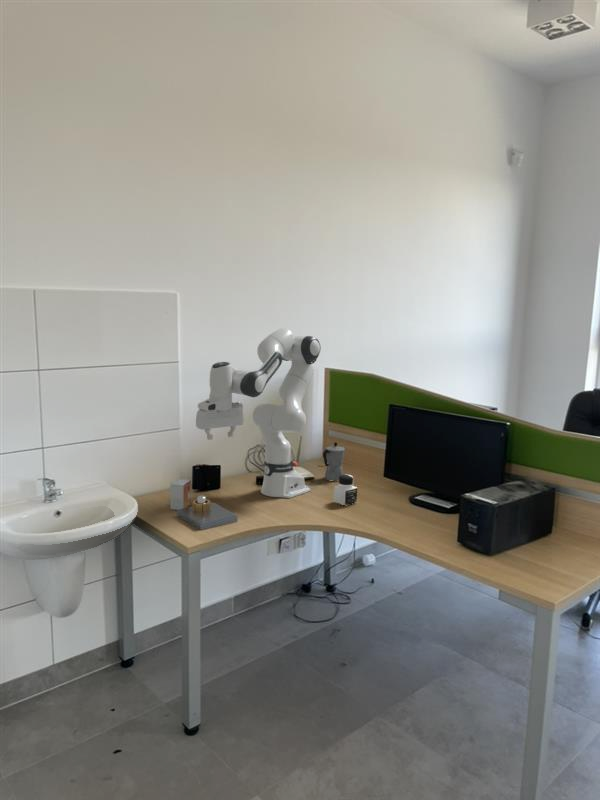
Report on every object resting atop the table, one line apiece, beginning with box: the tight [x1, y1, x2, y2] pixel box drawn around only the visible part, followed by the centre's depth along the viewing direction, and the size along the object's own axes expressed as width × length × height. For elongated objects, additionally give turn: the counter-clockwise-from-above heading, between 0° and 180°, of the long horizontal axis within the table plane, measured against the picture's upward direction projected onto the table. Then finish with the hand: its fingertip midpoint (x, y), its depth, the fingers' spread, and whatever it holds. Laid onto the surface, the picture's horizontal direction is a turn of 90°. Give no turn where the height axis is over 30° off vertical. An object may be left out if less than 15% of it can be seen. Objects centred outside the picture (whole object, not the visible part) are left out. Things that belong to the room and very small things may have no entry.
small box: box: [170, 478, 192, 511], centre depth 245 cm, size 8×6×10 cm
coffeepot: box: [322, 442, 346, 482], centre depth 290 cm, size 15×9×18 cm, turn 138°
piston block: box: [176, 494, 239, 531], centre depth 233 cm, size 16×18×8 cm
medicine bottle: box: [333, 473, 358, 506], centre depth 257 cm, size 7×7×12 cm
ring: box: [191, 498, 212, 512], centre depth 236 cm, size 7×7×3 cm
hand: (220, 438), depth 241 cm, fingers open, 8 cm apart
